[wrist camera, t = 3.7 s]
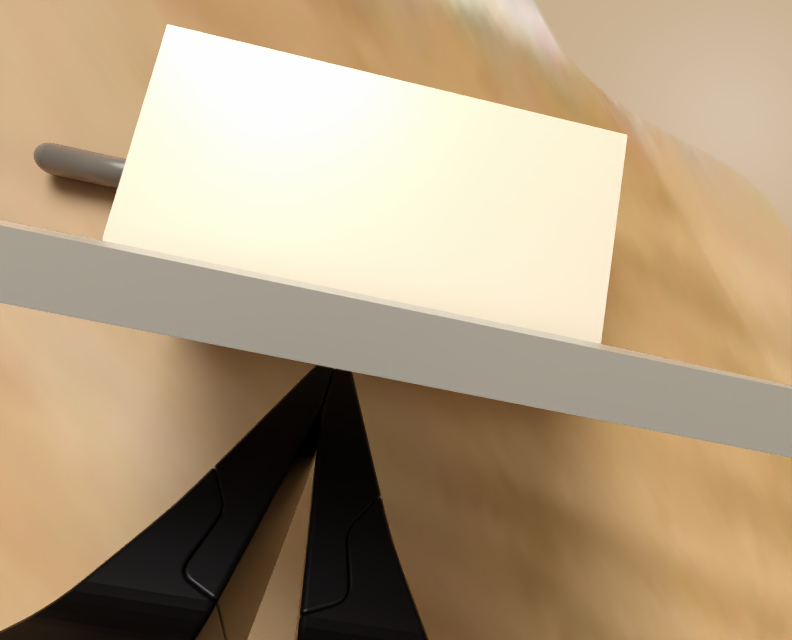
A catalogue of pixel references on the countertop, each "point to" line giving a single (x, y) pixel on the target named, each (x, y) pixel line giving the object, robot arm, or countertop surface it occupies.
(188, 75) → the hinged lid box
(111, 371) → the countertop surface
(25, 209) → the countertop surface
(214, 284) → the cover
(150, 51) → the countertop surface
